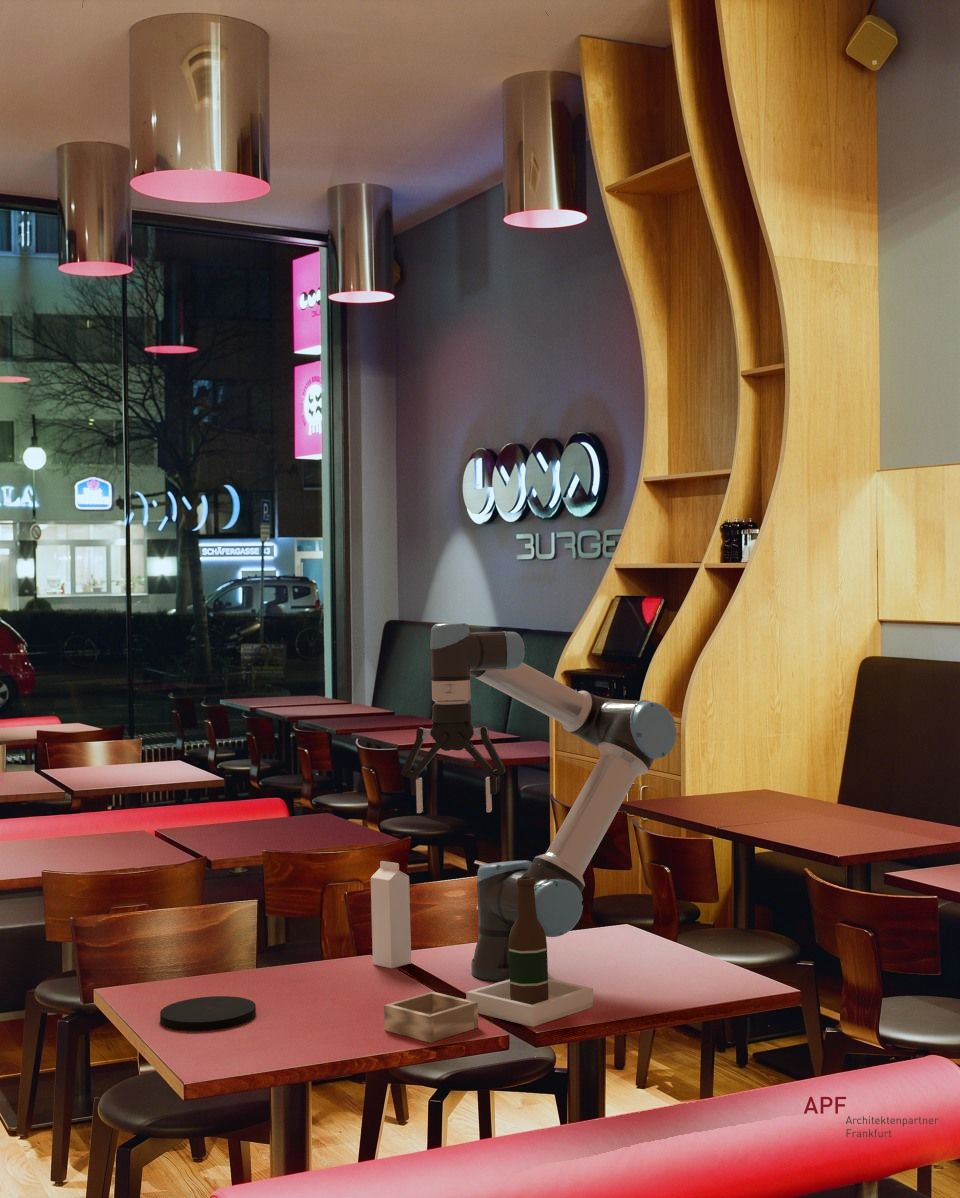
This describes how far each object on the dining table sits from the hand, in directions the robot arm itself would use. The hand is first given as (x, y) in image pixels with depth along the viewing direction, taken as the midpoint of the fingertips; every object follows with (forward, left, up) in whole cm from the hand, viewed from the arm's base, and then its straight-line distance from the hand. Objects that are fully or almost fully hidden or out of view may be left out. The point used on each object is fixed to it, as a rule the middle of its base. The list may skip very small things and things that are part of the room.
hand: (454, 812), depth 273 cm
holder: (+9, -16, -37) cm, 41 cm away
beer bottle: (+14, +5, -36) cm, 39 cm away
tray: (+14, +5, -37) cm, 40 cm away
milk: (-33, +12, -37) cm, 51 cm away
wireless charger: (-29, -38, -37) cm, 61 cm away
